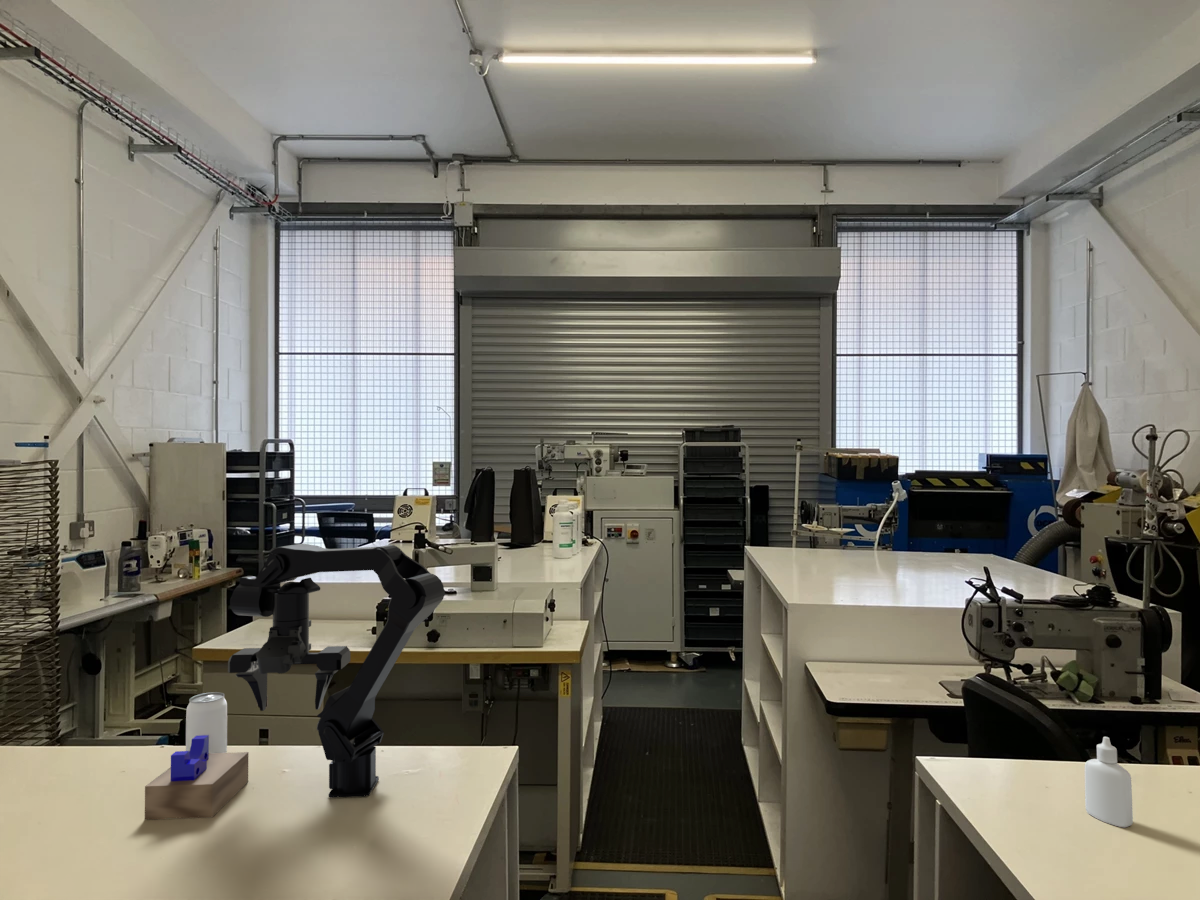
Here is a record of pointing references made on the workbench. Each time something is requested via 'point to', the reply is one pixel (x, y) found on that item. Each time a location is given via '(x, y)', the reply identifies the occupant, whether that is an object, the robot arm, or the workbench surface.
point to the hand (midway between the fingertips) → (290, 709)
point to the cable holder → (190, 760)
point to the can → (208, 720)
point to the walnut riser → (197, 789)
